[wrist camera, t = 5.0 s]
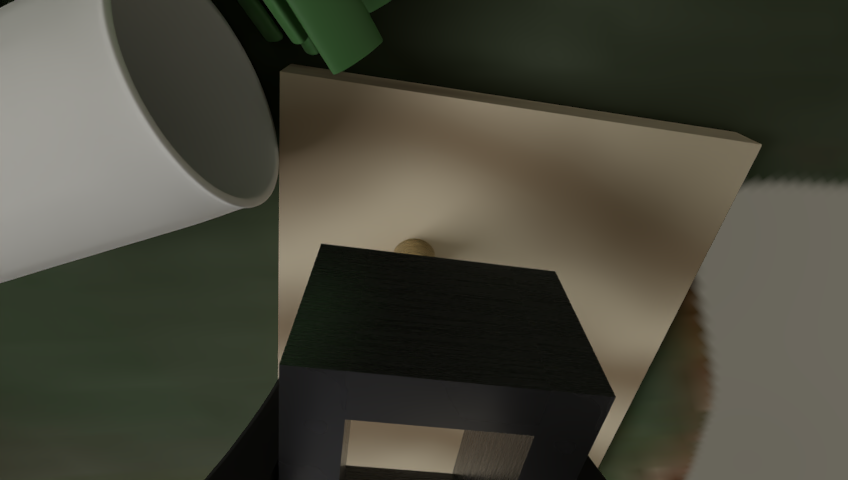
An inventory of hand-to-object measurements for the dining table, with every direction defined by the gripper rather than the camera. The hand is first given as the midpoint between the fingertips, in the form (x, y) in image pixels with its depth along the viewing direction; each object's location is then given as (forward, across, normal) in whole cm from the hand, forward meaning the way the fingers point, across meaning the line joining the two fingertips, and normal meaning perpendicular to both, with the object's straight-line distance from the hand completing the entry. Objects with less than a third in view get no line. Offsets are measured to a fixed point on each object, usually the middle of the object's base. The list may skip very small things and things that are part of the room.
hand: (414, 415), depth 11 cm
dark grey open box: (+1, 0, 0) cm, 1 cm away
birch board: (+9, -3, +4) cm, 10 cm away
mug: (+7, +18, -1) cm, 19 cm away
